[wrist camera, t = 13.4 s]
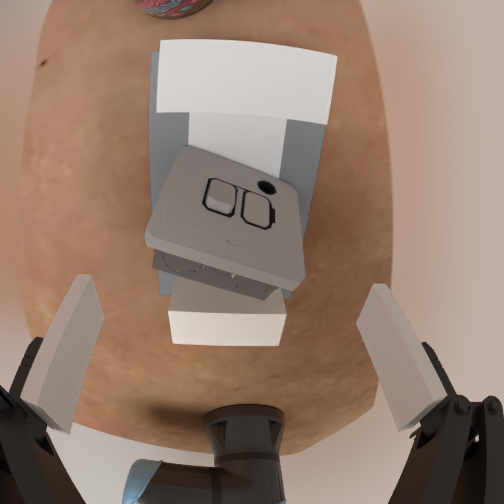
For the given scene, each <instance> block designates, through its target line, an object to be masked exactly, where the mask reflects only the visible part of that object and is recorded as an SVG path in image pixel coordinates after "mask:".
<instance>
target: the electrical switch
mask: <svg viewBox="0 0 504 504" xmlns="http://www.w3.org/2000/svg"><path fill="white" fill-rule="evenodd" d="M144 237H145V241H146V245H147V246H149V247H151V248H154V249H155V250H154V251H155V255H154V260H153V262H154V263H153V264H152V265H153V268H154V269H157V270H160V271H163V272H167V273H170V274H173V275H176V276H180V277H183V278H186V279H190V280H193V281H196V282H200V283H203V284H207V285H210V286H213V287H217V288H220V289H224V290H227V291H231V292H235V293H238V294H242V295H245V296H249V297H253V298H256V299H260V300H264V301H265V300H266V299H267V298H268V297H269V295H270V294H271V293H272V292H273V291H275V290H277V289H278V288H280V287H281V288H284V289H288V290H291V291H293V290H294V289H296V288H297V287H298V286H299V285H300V284H301V282H302V281H303V280H304V278H305V277H306V275H305V264H304V252H303V242H302V232H301V222H300V213H299V204H298V195H297V191H296V190H295V188H294V187H293V186H292V185H290V184H288V183H286V182H284V181H281V180H279V179H277V178H274V177H272V176H269V175H267V174H264V173H262V172H259V171H257V170H254V169H252V168H249V167H247V166H244V165H241V164H239V163H236V162H234V161H231V160H228V159H226V158H223V157H220V156H217V155H215V154H212V153H209V152H206V151H203V150H201V149H198V148H195V147H192V146H185V147H182V148H181V150H180V152H179V154H178V156H177V158H176V160H175V162H174V164H173V166H172V168H171V170H170V173H169V175H168V177H167V179H166V182H165V184H164V186H163V188H162V191H161V193H160V195H159V198H158V200H157V203H156V205H155V207H154V210H153V212H152V215H151V217H150V220H149V222H148V225H147V228H146V231H145V234H144ZM164 260H165V262H164ZM203 266H205V267H204V269H203ZM197 267H198V268H197ZM196 268H197V270H195V269H196ZM177 271H178V272H177ZM232 274H236V275H235V277H234V278H232V276H231V275H232ZM251 292H253V293H251Z"/></svg>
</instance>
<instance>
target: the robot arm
mask: <svg viewBox="0 0 504 504" xmlns="http://www.w3.org/2000/svg"><path fill="white" fill-rule="evenodd" d="M104 318H105V317H104V314H103V311H102V308H101V305H100V302H99V298H98V295H97V292H96V288H95V285H94V281H93V277H92V275H86V274H78V275H77V276H76V278H75V280H74V281H73V283H72V285H71V287H70V289H69V290H68V292H67V294H66V296H65V298H64V300H63V301H62V303H61V305H60V307H59V309H58V311H57V313H56V315H55V317H54V319H53V321H52V323H51V325H50V327H49V329H48V331H47V333H46V335H45V337H44V338H41V337H36V338H35V339H34V340H33V341H32V342H31V343H30V344H29V346H28V348H27V350H26V352H25V354H24V357H23V359H22V361H21V365H20V366H19V368H18V371H17V373H16V375H15V378H14V380H13V383H12V385H11V388H10V391H9V393H8V392H7V391H6V390H5V389H4V388H3V387H2V386H1V385H0V504H86V503H85V501H84V500H83V498H82V497H81V495H80V493H79V492H78V490H77V489H76V487H75V485H74V483H73V482H72V480H71V478H70V477H69V475H68V473H67V471H66V469H65V468H64V466H63V464H62V462H61V460H60V458H59V456H58V454H57V452H56V450H55V448H54V445H53V443H52V441H51V439H50V437H49V435H48V433H47V432H46V428H47V425H48V426H49V427H50V428H51V429H53V431H56V432H59V433H62V434H66V435H70V431H71V426H72V422H73V418H74V414H75V410H76V406H77V402H78V399H79V395H80V391H81V388H82V384H83V381H84V378H85V374H86V371H87V368H88V365H89V362H90V358H91V355H92V352H93V349H94V346H95V343H96V341H97V338H98V335H99V332H100V329H101V327H102V324H103V321H104ZM356 325H357V327H358V330H359V332H360V334H361V337H362V339H363V341H364V344H365V346H366V348H367V351H368V353H369V356H370V358H371V361H372V363H373V366H374V368H375V371H376V373H377V376H378V378H379V381H380V383H381V386H382V388H383V391H384V394H385V396H386V399H387V402H388V404H389V407H390V410H391V412H392V415H393V418H394V421H395V423H396V427H397V429H398V432H400V431H403V430H406V429H409V428H412V427H413V426H415V425H416V424H417V423H418V422H419V421H420V424H421V427H419V428H418V429H417V430H416V431H414V432H413V433H412V434H411V435H410V437H409V438H412V437H413V436H415V435H416V437H415V439H414V443H413V446H412V449H411V452H410V454H409V457H408V459H407V462H406V465H405V467H404V469H403V472H402V474H401V476H400V479H399V481H398V483H397V485H396V488H395V490H394V492H393V494H392V496H391V498H390V500H389V503H388V504H504V415H503V408H502V404H501V402H500V401H499V399H498V398H496V397H495V396H488V397H487V398H486V399H484V400H483V401H482V402H470V401H469V400H468V399H467V398H466V397H464V396H463V395H457V394H456V392H455V390H454V388H453V386H452V384H451V382H450V380H449V378H448V376H447V374H446V373H445V370H444V369H443V368H442V365H441V363H440V361H438V357H437V355H436V354H435V352H434V350H433V349H432V348H431V347H430V346H429V345H428V344H427V343H426V342H422V343H421V342H420V341H419V339H418V337H417V336H416V333H415V332H414V330H413V328H412V326H411V325H410V323H409V321H408V319H407V318H406V316H405V314H404V312H403V311H402V309H401V308H400V306H399V304H398V302H397V301H396V299H395V298H394V296H393V294H392V293H391V291H390V289H389V288H388V286H387V285H386V284H373V285H372V288H371V290H370V292H369V295H368V297H367V299H366V302H365V304H364V306H363V308H362V311H361V313H360V315H359V317H358V320H357V322H356ZM204 429H205V433H206V435H207V438H208V441H209V444H210V446H211V449H212V451H213V454H214V467H203V466H191V465H182V464H174V463H166V462H163V461H162V460H161V461H153V460H146V459H139V460H136V461H135V462H134V463H133V464H132V466H131V468H130V471H129V474H128V477H127V481H126V484H125V489H124V493H123V500H122V504H286V503H285V502H286V499H285V494H284V487H283V480H282V473H281V466H280V459H279V449H280V444H281V440H282V435H283V431H284V417H283V414H282V412H281V411H279V410H277V409H275V408H272V407H268V406H262V405H236V406H229V407H224V408H220V409H217V410H214V411H212V412H210V413H208V414H207V415H206V416H205V419H204ZM477 435H479V441H477V442H476V440H475V437H476V436H477Z"/></svg>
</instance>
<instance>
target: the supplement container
mask: <svg viewBox="0 0 504 504" xmlns="http://www.w3.org/2000/svg"><path fill="white" fill-rule="evenodd" d="M125 1H127V2H129V3H130V4H132V5H133V6H135V7H136V8H138V9H139V10H141V11H142V12H144V13H146V14H148V15H150V16H152V17H156V18H163V19H172V18H179V17H184V16H187V15H190V14H192V13H194V12H196V11H198V10H200V9H202V8H203V7H205V6H206V5H207V4H208V3H209V2H210V1H211V0H125Z"/></svg>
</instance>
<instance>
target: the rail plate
mask: <svg viewBox="0 0 504 504" xmlns="http://www.w3.org/2000/svg"><path fill="white" fill-rule="evenodd" d="M336 64H337V56H335V55H331V54H326V53H322V52H317V51H312V50H307V49H301V48H295V47H289V46H283V45H275V44H268V43H259V42H248V41H235V40H213V39H181V40H161V41H160V51H152V58H151V74H150V97H149V165H150V189H151V206H152V212H153V210H154V207H155V205H156V203H157V200H158V198H159V195H160V193H161V191H162V188H163V186H164V184H165V182H166V179H167V177H168V175H169V173H170V170H171V168H172V166H173V164H174V162H175V160H176V158H177V156H178V154H179V152H180V150H181V148H182V147H185V146H192V147H195V148H198V149H201V150H203V151H206V152H209V153H212V154H215V155H217V156H220V157H223V158H226V159H228V160H231V161H234V162H236V163H239V164H241V165H244V166H247V167H249V168H252V169H254V170H257V171H259V172H262V173H264V174H267V175H269V176H272V177H274V178H277V179H279V180H281V181H284V182H286V183H288V184H290V185H292V186H293V187H294V188H295V190H296V191H297V195H298V204H299V213H300V222H301V232H302V242H303V240H304V235H305V231H306V226H307V221H308V217H309V212H310V207H311V202H312V197H313V192H314V187H315V182H316V177H317V172H318V166H319V161H320V155H321V150H322V144H323V139H324V133H325V127H326V125H327V123H328V117H329V111H330V105H331V98H332V92H333V85H334V78H335V71H336ZM164 262H165V260H164ZM204 267H205V266H203V269H204ZM197 268H198V267H197ZM197 268H196V269H195V270H197ZM157 271H158V279H159V286H160V294H161V295H171V298H170V304H169V309H168V314H169V321H170V327H171V334H172V340H173V343H176V344H193V345H219V346H279V342H280V338H281V335H282V331H283V327H284V323H285V319H286V316H287V313H286V308H285V304H284V299H290V296H291V292H292V291H291V290H288V289H284V288H281V287H280V288H278V289H277V290H275V291H273V292H272V293H271V294H270V295H269V297H268V298H267V299H266V300H265V301H264V300H260V299H256V298H253V297H249V296H245V295H242V294H238V293H235V292H231V291H227V290H224V289H220V288H217V287H213V286H210V285H207V284H203V283H200V282H196V281H193V280H190V279H186V278H183V277H180V276H176V275H173V274H170V273H167V272H163V271H160V270H157ZM177 272H178V271H177ZM235 275H236V274H232V275H231V276H232V278H234V277H235ZM251 293H253V292H251Z"/></svg>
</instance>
